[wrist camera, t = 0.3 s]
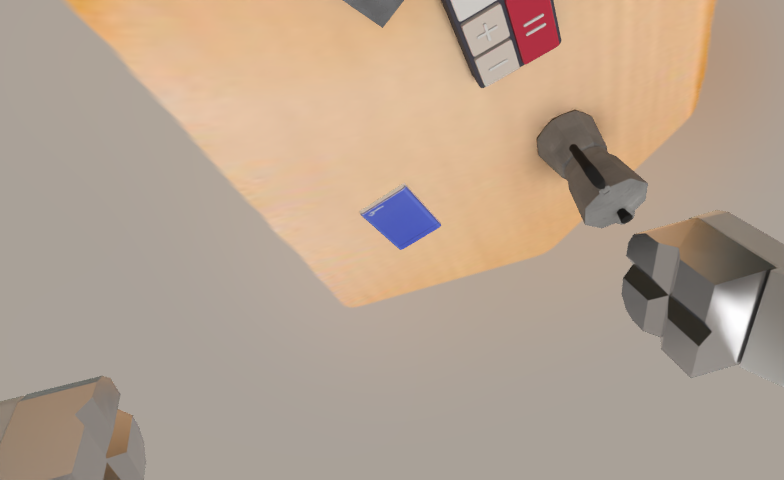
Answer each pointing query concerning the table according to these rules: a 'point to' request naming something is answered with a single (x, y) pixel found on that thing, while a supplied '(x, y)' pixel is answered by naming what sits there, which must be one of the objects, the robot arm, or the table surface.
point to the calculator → (502, 34)
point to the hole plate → (376, 9)
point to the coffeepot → (591, 170)
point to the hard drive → (401, 217)
